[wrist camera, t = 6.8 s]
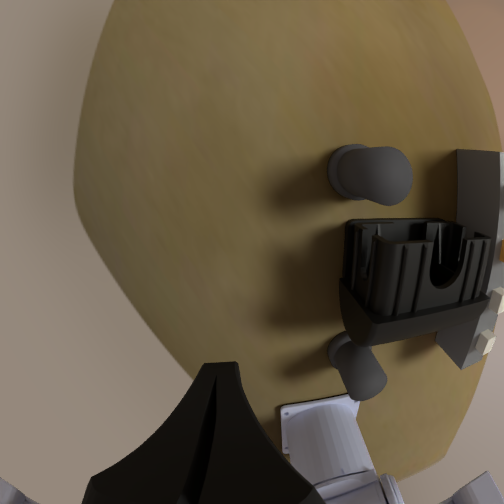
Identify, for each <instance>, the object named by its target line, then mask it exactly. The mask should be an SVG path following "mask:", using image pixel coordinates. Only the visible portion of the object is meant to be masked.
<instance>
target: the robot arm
mask: <svg viewBox="0 0 504 504" xmlns="http://www.w3.org/2000/svg"><path fill="white" fill-rule="evenodd" d="M359 404H360V401H354V400H352V399H351V398H350V397H349V394H346V395H342V396H337V397H332V398H327V399H322V400H316V401H311V402H304V403H298V404H291V405H285V406H282V407H281V409H280V412H281V431H282V451H283V453H284V454H288V453H289V455H290V461H291V464H290V463H289V462H288V461H287V460H286V458H285V457H284V456H283V455H282V454H281V452H280V451H279V450H278V449H277V448H276V446H275V445H274V444H273V442H272V441H271V440H270V438H269V437H268V435H267V434H266V433H265V431H264V429H263V428H262V426H261V425H260V423H259V421H258V420H257V418H256V416H255V414H254V412H253V410H252V408H251V406H250V404H249V402H248V400H247V398H246V395H245V393H244V390H243V387H242V383H241V377H240V371H239V366H238V363H237V362H235V361H234V362H218V363H204V364H203V365H202V367H201V369H200V371H199V373H198V374H197V376H196V378H195V380H194V381H193V383H192V385H191V386H190V388H189V389H188V391H187V393H186V394H185V395H184V397H183V398H182V400H181V401H180V403H179V404H178V405H177V407H176V408H175V409H174V411H173V412H172V413H171V415H170V416H169V417H168V418H167V419H166V421H165V422H164V423H163V424H162V425H161V426H160V427H159V428H158V429H157V430H156V431H155V433H154V434H152V435H151V436H150V437H149V438H148V439H147V440H146V441H145V442H144V443H143V444H142V445H140V447H138V448H137V449H136V450H134V451H133V452H132V453H130V454H129V455H127V456H126V457H125V458H123V459H122V460H121V461H119V462H117V463H116V464H114V465H113V466H111V467H109V468H107V469H105V470H104V471H102V472H100V473H98V474H96V475H94V476H92V477H91V479H90V481H89V483H88V485H87V489H86V491H85V495H84V498H83V501H82V504H404V501H403V498H402V496H401V493H400V491H399V488H398V486H397V483H396V481H395V478H394V476H392V475H387V474H386V473H385V474H383V475H381V476H380V478H381V480H380V478H379V476H378V475H377V473H376V471H375V469H374V466H373V464H372V461H371V458H370V456H369V453H368V450H367V448H366V445H365V442H364V440H363V437H362V435H361V432H360V430H359V427H358V424H357V422H356V415H357V412H358V408H359ZM381 482H382V483H381ZM0 504H39V503H37V502H35V501H33V500H32V499H30V498H28V497H26V496H25V495H24V494H23V493H22V492H21V491H19V490H18V489H17V488H15V487H14V486H12V485H11V484H9V483H8V482H6V481H5V480H3V479H2V478H0ZM439 504H504V498H503V496H502V494H501V492H500V490H499V489H498V487H497V485H496V483H495V481H494V480H493V478H492V476H491V474H490V473H489V471H485V472H484V473H483V474H481V475H480V476H478V477H477V478H475V479H474V480H472V481H471V482H469V483H468V484H466V485H465V486H463V487H462V488H460V489H459V490H458V491H457V492H455V493H454V494H453V496H452V497H450V498H448V499H446V500H445V501H443V502H441V503H439Z"/></svg>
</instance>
